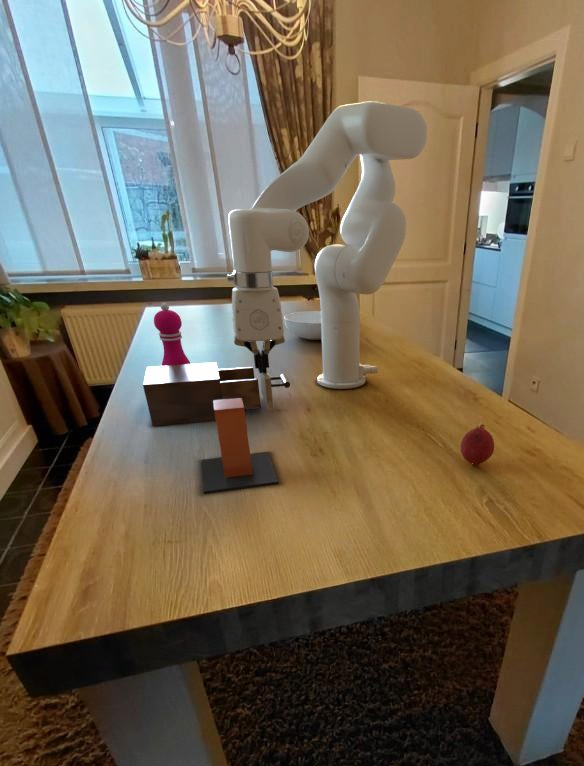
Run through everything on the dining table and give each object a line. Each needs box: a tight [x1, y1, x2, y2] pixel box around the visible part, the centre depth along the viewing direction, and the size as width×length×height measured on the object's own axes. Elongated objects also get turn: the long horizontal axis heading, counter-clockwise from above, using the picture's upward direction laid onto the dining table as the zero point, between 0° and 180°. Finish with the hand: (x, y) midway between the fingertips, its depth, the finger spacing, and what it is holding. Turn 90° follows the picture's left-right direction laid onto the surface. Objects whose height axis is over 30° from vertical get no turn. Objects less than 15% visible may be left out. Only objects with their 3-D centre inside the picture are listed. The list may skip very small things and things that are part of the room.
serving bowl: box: [283, 310, 322, 341], centre depth 168 cm, size 21×21×7 cm
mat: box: [201, 451, 279, 494], centre depth 86 cm, size 12×12×1 cm
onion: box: [460, 422, 495, 467], centre depth 87 cm, size 6×6×8 cm
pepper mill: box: [153, 302, 192, 366], centre depth 117 cm, size 7×7×20 cm
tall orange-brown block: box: [213, 398, 253, 478], centre depth 82 cm, size 5×5×12 cm
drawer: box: [218, 366, 291, 411], centre depth 110 cm, size 18×12×7 cm, turn 107°
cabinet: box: [142, 361, 223, 427], centre depth 107 cm, size 15×13×9 cm
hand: (262, 371), depth 109 cm, fingers closed
